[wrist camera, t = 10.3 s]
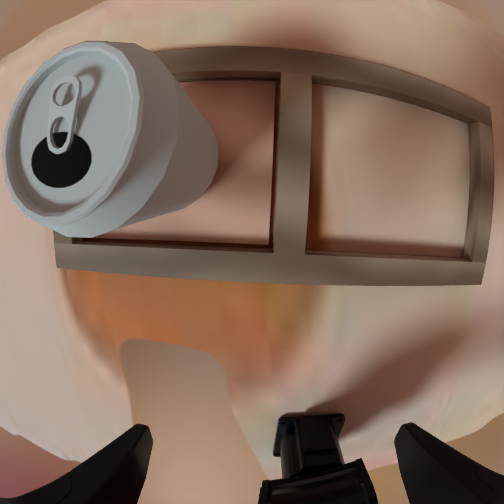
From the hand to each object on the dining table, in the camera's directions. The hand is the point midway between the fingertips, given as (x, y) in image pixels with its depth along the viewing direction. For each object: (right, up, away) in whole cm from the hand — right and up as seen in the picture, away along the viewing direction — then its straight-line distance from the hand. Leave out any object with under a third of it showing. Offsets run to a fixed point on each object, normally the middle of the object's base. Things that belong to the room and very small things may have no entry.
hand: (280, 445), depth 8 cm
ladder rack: (+2, +12, +10) cm, 16 cm away
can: (-7, +13, +10) cm, 18 cm away
